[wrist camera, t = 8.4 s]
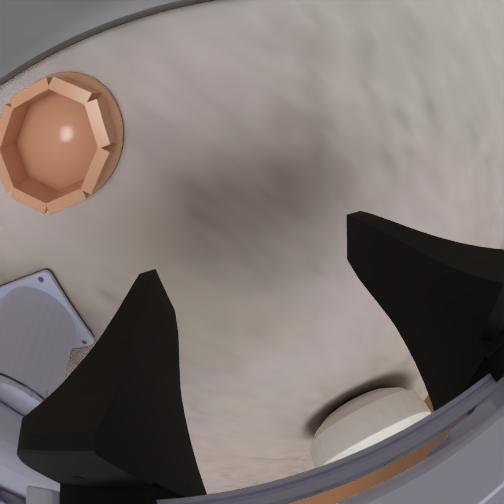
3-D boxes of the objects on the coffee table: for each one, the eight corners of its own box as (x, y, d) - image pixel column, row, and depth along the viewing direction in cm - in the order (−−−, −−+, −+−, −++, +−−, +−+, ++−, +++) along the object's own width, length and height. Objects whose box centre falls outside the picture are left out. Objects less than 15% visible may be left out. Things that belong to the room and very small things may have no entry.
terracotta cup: (34, 218, 16) (20, 236, 14) (-6, 109, 12) (-26, 115, 10) (140, 177, 17) (135, 190, 15) (104, 50, 13) (93, 45, 10)
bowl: (278, 424, 39) (294, 473, 32) (396, 352, 36) (427, 399, 29) (326, 442, 49) (341, 476, 42) (413, 389, 46) (434, 422, 39)
